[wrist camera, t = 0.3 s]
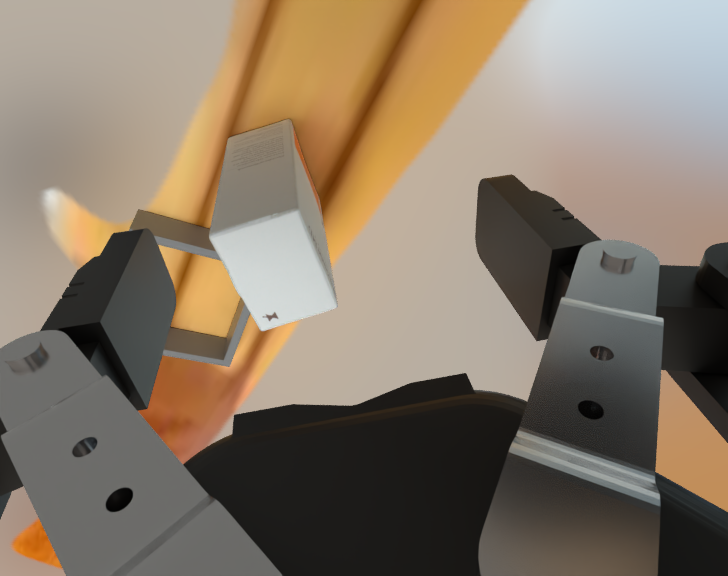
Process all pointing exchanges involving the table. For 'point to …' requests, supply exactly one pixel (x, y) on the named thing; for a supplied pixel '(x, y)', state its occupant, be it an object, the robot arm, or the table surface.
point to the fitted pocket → (200, 244)
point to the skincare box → (272, 228)
